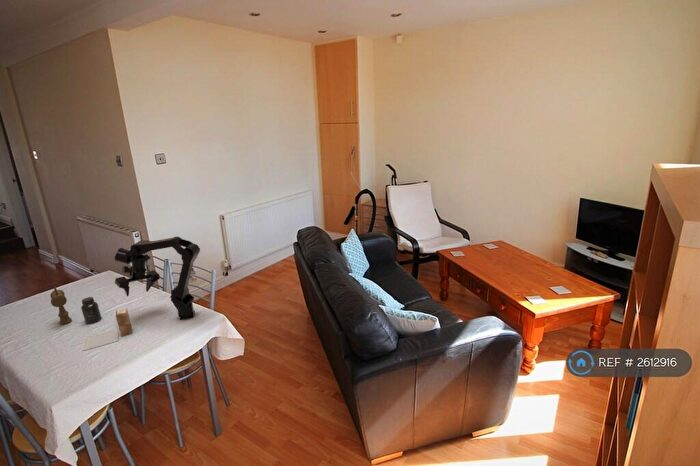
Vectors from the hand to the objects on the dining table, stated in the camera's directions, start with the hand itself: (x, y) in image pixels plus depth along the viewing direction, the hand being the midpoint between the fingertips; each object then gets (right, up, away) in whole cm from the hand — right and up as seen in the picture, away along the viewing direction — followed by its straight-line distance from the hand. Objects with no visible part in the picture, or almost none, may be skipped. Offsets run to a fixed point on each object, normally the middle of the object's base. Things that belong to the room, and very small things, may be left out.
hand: (137, 293), depth 182 cm
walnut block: (+1, -17, -10) cm, 20 cm away
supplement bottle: (-22, -14, +1) cm, 26 cm away
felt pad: (-7, -18, -15) cm, 25 cm away
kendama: (-36, -14, 0) cm, 39 cm away
